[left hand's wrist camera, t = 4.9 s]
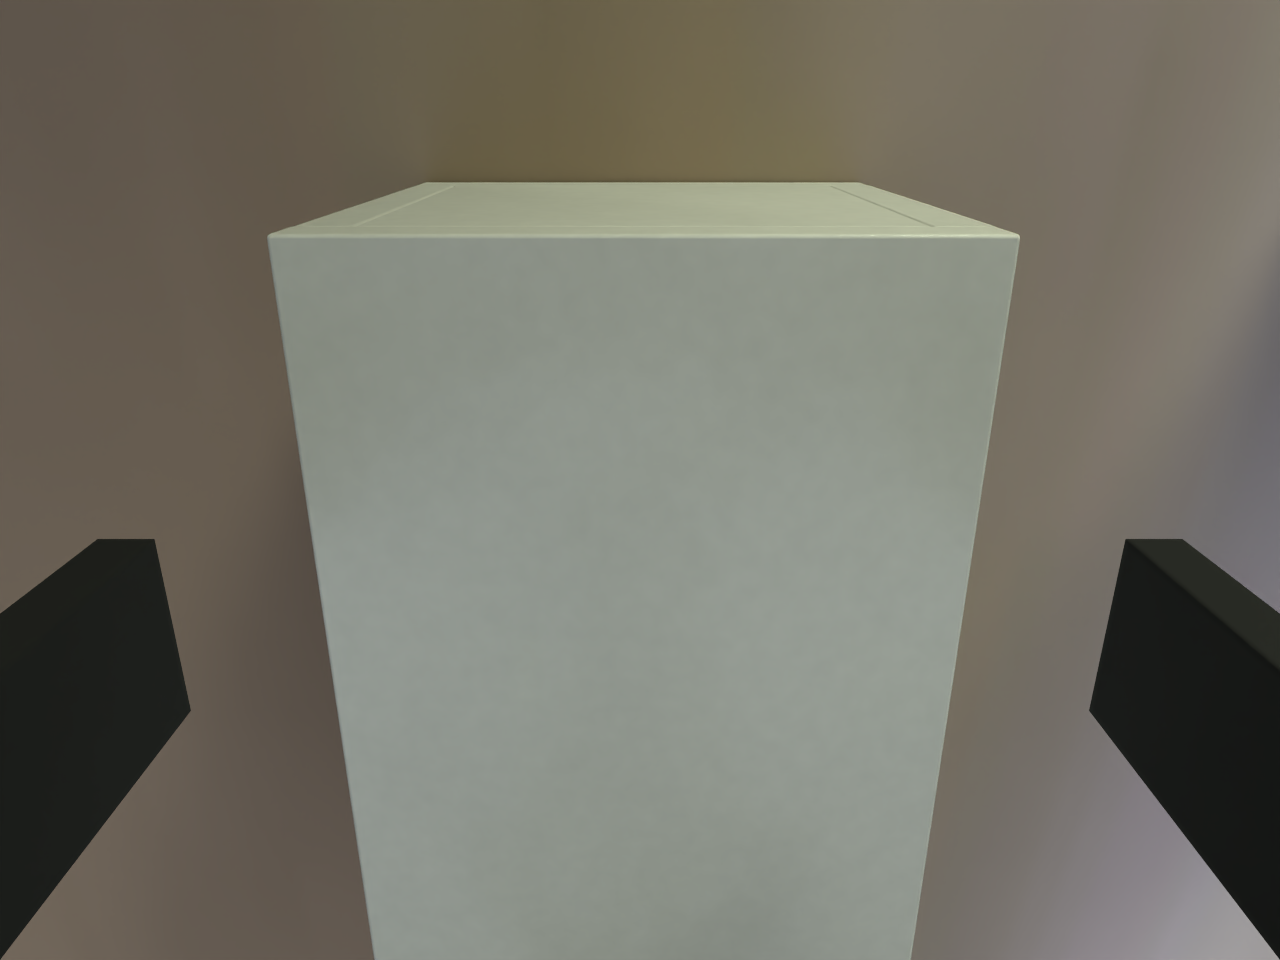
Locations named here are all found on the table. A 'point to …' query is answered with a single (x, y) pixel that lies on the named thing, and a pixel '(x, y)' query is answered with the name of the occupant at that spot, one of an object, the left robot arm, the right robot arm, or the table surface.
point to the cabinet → (643, 554)
